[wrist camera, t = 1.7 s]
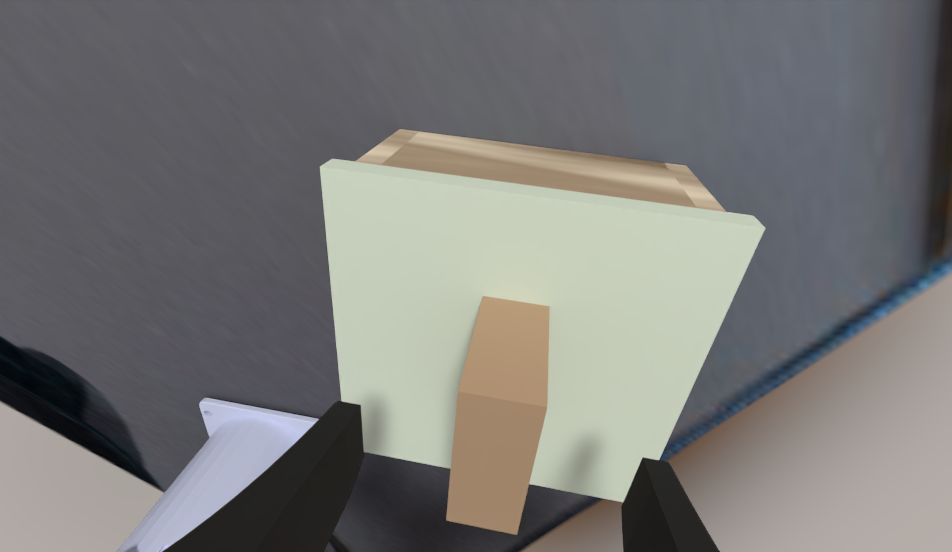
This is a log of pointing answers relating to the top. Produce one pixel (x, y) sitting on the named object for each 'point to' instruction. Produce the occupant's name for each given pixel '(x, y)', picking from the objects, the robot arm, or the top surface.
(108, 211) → the top surface
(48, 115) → the top surface
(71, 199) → the top surface
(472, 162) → the box
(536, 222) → the lid
